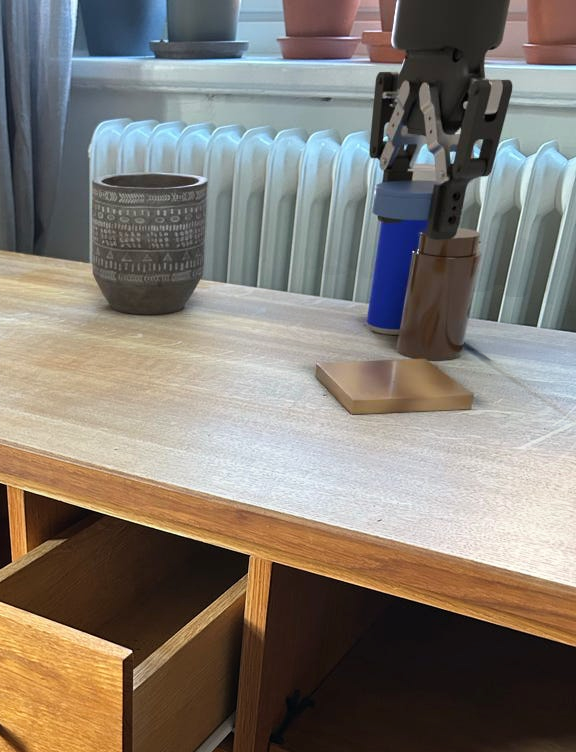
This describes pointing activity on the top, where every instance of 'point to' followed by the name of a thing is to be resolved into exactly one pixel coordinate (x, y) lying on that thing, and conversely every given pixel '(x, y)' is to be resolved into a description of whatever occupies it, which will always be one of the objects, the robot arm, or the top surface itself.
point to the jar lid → (403, 199)
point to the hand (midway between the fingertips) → (414, 229)
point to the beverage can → (394, 265)
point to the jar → (439, 296)
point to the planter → (148, 239)
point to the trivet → (392, 386)
